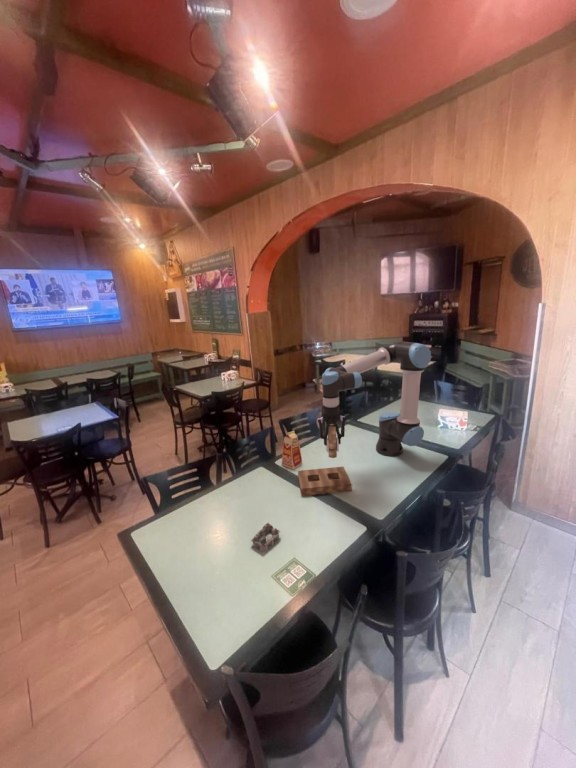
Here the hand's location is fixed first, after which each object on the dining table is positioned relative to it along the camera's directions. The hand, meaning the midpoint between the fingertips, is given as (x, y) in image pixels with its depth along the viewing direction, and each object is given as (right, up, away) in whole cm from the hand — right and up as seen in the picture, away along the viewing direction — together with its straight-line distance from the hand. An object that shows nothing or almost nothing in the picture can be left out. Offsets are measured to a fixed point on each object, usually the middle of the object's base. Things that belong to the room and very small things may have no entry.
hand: (332, 450), depth 151 cm
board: (-4, -18, +4) cm, 19 cm away
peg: (0, -3, +1) cm, 3 cm away
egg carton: (-30, -29, -30) cm, 51 cm away
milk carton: (-19, -13, +26) cm, 35 cm away
